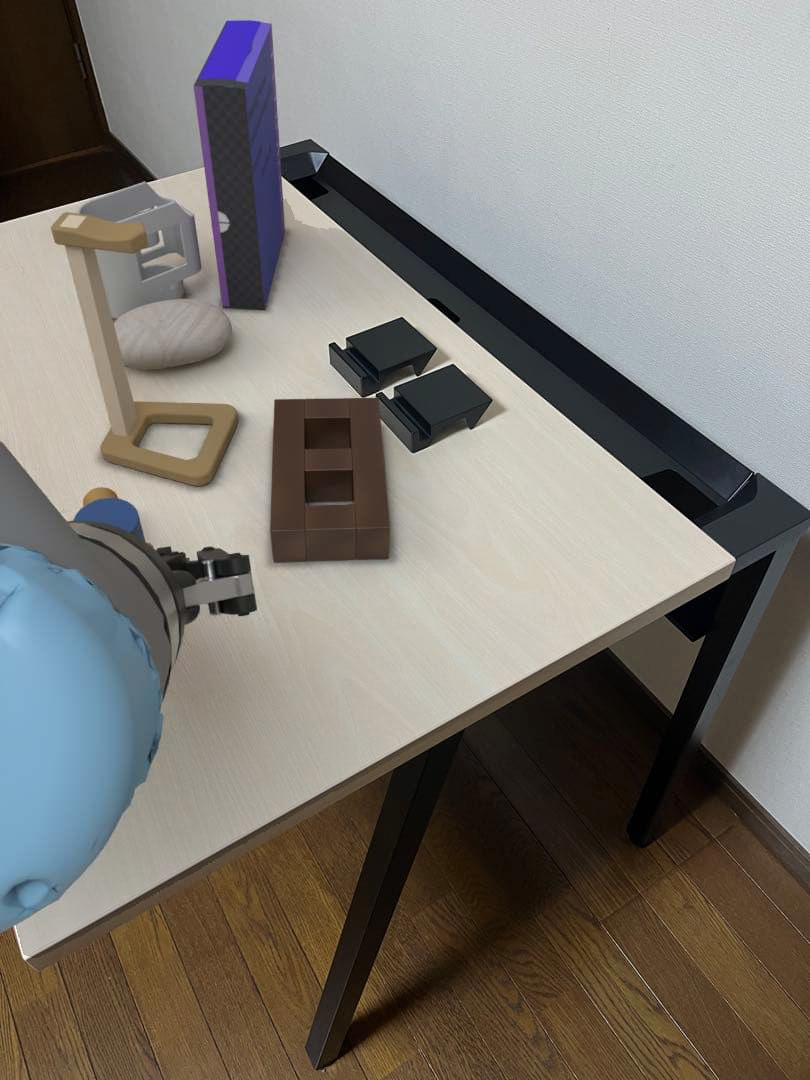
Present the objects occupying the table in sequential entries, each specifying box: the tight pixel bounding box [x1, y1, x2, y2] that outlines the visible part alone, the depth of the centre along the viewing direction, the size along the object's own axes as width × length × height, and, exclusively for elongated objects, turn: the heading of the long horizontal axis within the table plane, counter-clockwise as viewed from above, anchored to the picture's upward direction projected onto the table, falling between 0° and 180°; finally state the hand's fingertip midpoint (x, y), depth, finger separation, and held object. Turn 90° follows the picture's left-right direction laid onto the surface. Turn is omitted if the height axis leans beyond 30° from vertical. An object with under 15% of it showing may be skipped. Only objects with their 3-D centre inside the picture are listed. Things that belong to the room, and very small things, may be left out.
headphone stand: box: [50, 211, 239, 487], centre depth 75 cm, size 10×11×22 cm
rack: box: [269, 397, 391, 563], centre depth 78 cm, size 10×17×4 cm, turn 5°
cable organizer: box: [76, 181, 203, 321], centre depth 94 cm, size 7×12×12 cm, turn 134°
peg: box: [72, 497, 147, 543], centre depth 48 cm, size 3×3×12 cm
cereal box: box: [193, 19, 286, 311], centre depth 95 cm, size 17×5×24 cm, turn 178°
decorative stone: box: [113, 298, 233, 370], centre depth 91 cm, size 13×9×5 cm
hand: (134, 574), depth 52 cm, fingers closed on peg, 3 cm apart
